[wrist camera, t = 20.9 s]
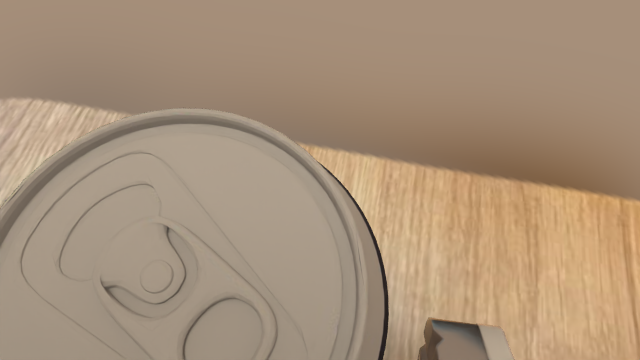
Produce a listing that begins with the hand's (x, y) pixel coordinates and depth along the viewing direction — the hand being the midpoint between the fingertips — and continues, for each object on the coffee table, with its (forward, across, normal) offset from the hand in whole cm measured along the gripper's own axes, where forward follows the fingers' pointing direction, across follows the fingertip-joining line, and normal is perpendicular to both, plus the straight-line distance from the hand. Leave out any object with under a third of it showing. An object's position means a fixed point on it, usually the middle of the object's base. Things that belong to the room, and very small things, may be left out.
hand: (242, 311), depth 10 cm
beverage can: (+5, 0, -5) cm, 7 cm away
